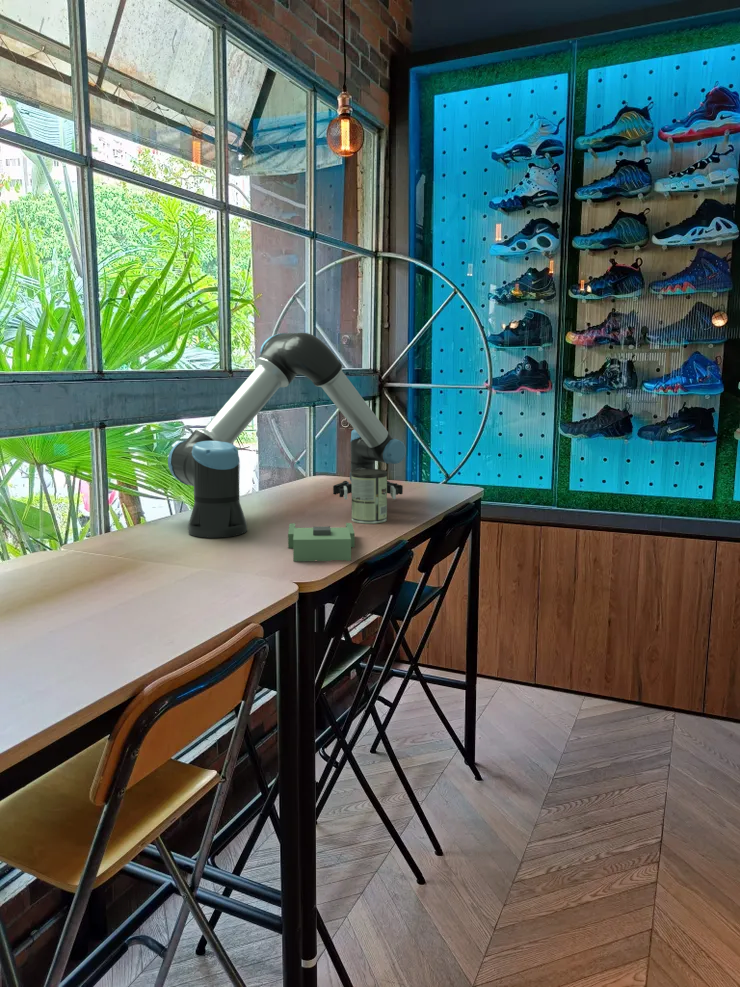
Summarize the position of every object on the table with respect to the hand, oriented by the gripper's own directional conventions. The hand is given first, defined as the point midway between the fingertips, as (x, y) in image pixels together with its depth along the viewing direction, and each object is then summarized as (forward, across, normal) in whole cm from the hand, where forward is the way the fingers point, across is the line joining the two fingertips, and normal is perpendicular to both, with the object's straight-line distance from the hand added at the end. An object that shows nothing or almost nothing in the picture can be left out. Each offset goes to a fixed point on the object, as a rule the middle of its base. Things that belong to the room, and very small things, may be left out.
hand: (370, 494), depth 207 cm
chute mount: (+29, +14, -8) cm, 33 cm away
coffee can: (-3, 0, -8) cm, 9 cm away
